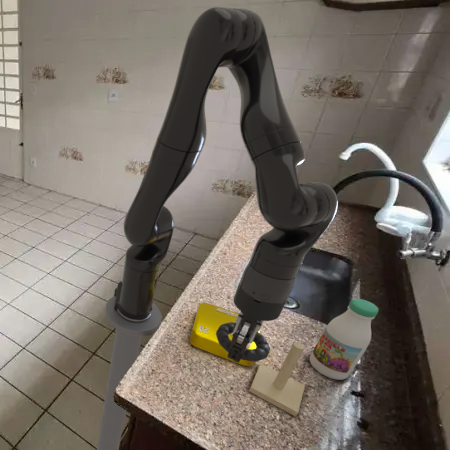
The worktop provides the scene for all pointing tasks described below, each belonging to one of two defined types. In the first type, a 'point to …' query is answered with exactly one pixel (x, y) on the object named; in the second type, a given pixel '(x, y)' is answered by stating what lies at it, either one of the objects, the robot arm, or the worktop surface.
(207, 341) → the element tile
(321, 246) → the worktop surface
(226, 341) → the ring
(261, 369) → the stand
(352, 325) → the milk bottle
